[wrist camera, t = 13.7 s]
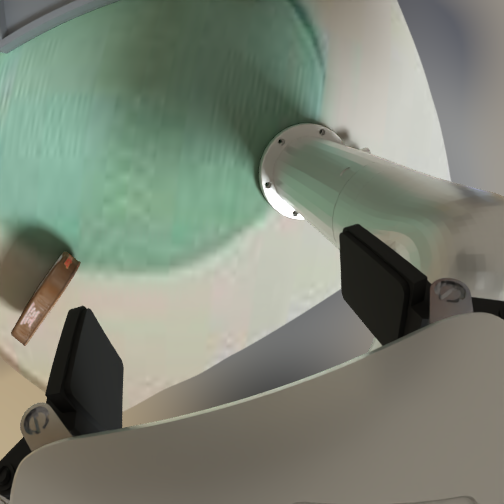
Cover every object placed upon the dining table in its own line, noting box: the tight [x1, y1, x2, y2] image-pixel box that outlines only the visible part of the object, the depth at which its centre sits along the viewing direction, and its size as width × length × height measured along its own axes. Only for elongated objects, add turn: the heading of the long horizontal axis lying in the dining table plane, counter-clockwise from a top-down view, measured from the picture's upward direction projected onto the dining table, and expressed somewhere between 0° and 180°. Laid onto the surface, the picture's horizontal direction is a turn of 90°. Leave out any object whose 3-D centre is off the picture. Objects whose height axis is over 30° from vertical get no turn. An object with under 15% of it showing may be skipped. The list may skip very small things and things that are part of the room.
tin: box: [11, 252, 81, 346], centre depth 33 cm, size 15×3×8 cm, turn 130°
